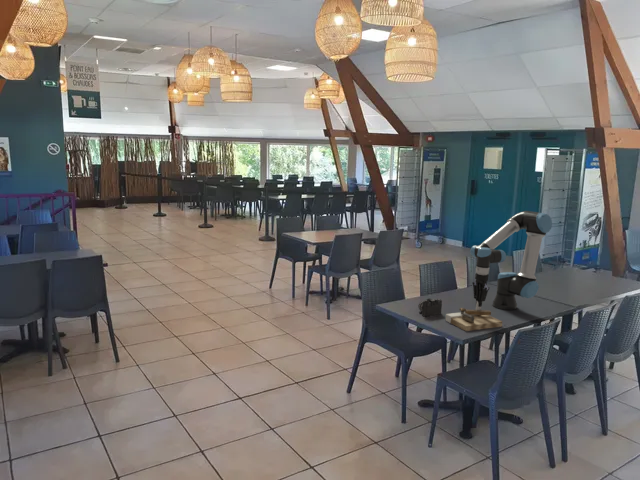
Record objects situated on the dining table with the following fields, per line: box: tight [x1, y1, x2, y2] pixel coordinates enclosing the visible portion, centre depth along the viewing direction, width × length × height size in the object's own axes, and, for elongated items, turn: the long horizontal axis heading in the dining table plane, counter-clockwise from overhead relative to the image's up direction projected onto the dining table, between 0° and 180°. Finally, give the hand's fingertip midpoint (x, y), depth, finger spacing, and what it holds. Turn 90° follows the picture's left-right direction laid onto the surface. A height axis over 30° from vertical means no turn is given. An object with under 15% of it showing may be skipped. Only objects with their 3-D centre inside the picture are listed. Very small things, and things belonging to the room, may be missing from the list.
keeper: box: [462, 313, 474, 323], centre depth 295 cm, size 2×8×4 cm, turn 22°
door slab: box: [450, 315, 503, 332], centre depth 298 cm, size 26×14×3 cm, turn 112°
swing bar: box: [459, 307, 492, 316], centre depth 304 cm, size 18×4×3 cm, turn 88°
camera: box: [418, 297, 443, 317], centre depth 316 cm, size 14×11×10 cm
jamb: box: [445, 311, 475, 324], centre depth 306 cm, size 26×5×6 cm, turn 112°
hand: (478, 311), depth 307 cm, fingers closed
